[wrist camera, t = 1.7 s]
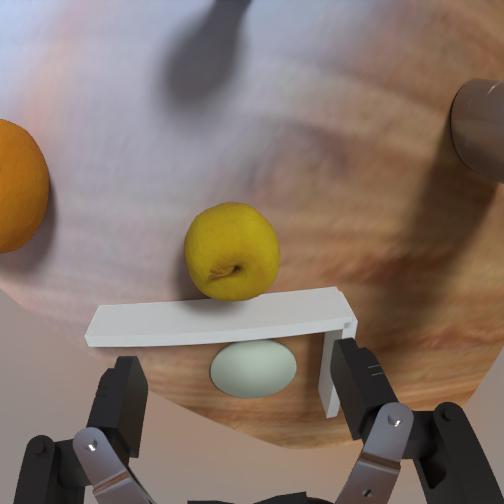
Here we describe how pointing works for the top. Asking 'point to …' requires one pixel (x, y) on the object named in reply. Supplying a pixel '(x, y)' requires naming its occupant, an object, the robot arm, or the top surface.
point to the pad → (253, 368)
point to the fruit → (20, 186)
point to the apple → (232, 252)
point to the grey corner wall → (231, 325)
